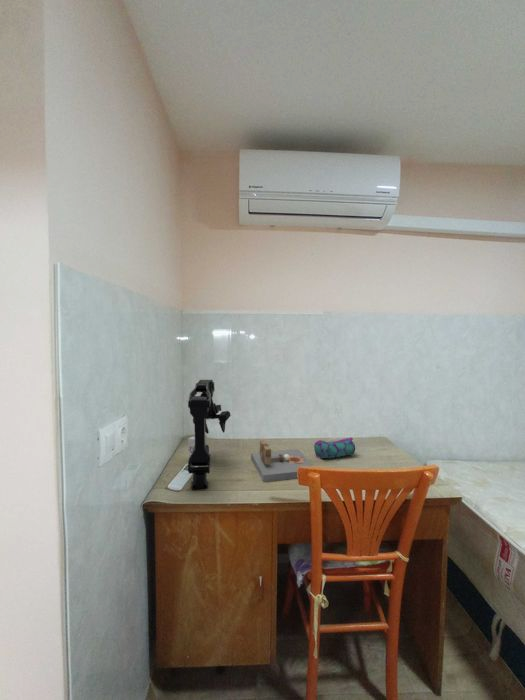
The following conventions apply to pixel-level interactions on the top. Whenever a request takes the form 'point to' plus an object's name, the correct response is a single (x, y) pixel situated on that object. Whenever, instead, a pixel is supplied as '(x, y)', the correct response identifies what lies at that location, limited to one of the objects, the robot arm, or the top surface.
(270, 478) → the deck
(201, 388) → the robot arm
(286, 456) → the ball
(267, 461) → the plunger
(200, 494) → the top surface
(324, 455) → the pencil case
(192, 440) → the ink box
